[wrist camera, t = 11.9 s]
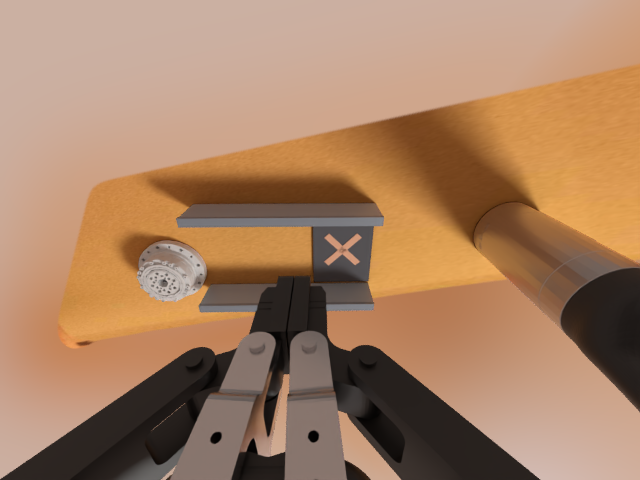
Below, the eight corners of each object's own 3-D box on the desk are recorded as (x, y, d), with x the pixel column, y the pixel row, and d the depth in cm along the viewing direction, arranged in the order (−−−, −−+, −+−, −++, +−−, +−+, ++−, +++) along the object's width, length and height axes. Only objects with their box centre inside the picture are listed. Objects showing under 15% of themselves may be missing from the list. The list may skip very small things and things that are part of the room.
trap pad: (374, 212, 41) (375, 213, 41) (367, 280, 46) (368, 281, 46) (312, 213, 41) (312, 214, 40) (313, 280, 46) (313, 282, 46)
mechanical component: (152, 228, 42) (136, 276, 46) (136, 242, 38) (119, 293, 42) (216, 256, 44) (195, 299, 48) (207, 272, 40) (185, 318, 44)
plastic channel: (375, 202, 40) (384, 217, 35) (367, 287, 47) (373, 310, 42) (193, 203, 40) (176, 218, 35) (212, 289, 47) (200, 312, 42)
